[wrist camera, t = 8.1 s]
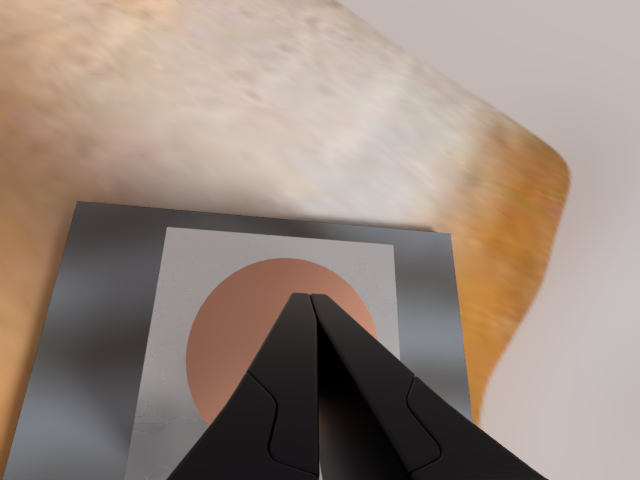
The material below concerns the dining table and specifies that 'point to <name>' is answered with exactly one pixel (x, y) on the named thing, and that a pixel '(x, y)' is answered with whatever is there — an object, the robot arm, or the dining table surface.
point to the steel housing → (188, 296)
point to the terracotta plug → (252, 323)
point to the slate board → (135, 319)
